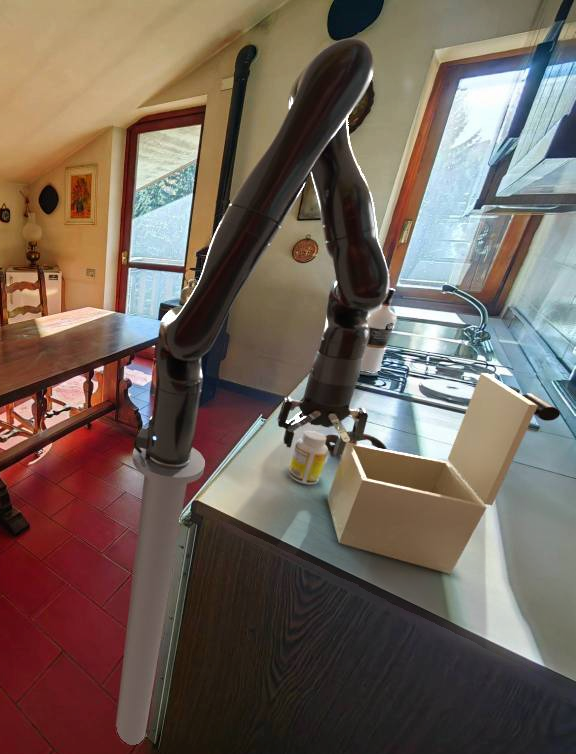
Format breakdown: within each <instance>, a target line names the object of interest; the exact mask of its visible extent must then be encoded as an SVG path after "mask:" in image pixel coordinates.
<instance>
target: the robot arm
mask: <svg viewBox="0 0 576 754" xmlns="http://www.w3.org/2000/svg"><path fill="white" fill-rule="evenodd" d="M374 61H375V60H374V55H373V52H372V49H371V47H370V46H369V44H368V43H367V42H366V41H365V40H362V39H360V38H356V37H349V38H348V37H347V38H344V39H340V40H337V41H335V42H333V43H331V44H329V45H328V46H327V47H324V48H323V49H322V50H320V51H319V52H318V53H317V54H316V55H315V56H314V57H313V58H312V59H311V60H310V61H309V62H307V63H308V64H307V65H305V67H304V68H303V70H302V71H301V72H300V74H299V75H298V76H297V77H296V79H295V81H294V82H293V84H292V86H291V88H290V91H289V94H288V97H287V110H288V111H287V114H286V116H285V118H284V120H283V122H282V124H281V126H280V128H279V130H278V132H277V133H276V135H275V137H274V139H273V141H272V142H271V144H270V145H269V147H268V148H267V149H266V151H265V152H264V154H263V155H262V156H261V158H260V159H259V161H258V162H257V163H256V165H255V166H254V167H253V168H252V170H251V172H250V173H249V174H248V175H247V176H246V178H245V180H244V181H243V183H242V184H241V186H240V187H239V189H238V190H237V192H236V194H235V195H234V196H233V198H232V200H231V201H230V203H229V206H228V207H227V209H226V211H225V213H224V214H223V216H222V218H221V220H220V222H219V223H218V226H217V228H216V230H215V232H214V234H213V236H212V238H211V242H210V244H209V248H208V251H207V254H206V258H205V262H204V264H203V269H202V272H201V275H200V278H199V280H198V282H197V285H196V286H195V287H194V290H193V291H192V293H191V295H190V296H189V298H188V299H187V301H186V302H185V304H184V305H179V306H176V307H174V308H172V309H170V310H169V311H168V312H167V313H165V315H164V316H163V317H162V319H161V321H160V325H159V329H158V336H157V344H156V345H157V347H156V358H155V384H154V394H153V403H152V410H151V417H150V418H149V421H148V426H147V428H144V427H141V429H140V431H139V432H138V434H137V436H136V437H135V438H134V439H133V442H132V444H133V448H135V449H136V450H137V451H138V452H139V454H140V453H142V451H141V449H140V448H143V449H146V453H145V459H149V460H151V461H152V462H153V463H155V464H157V465H159V466H161V467H165V468H172V469H177V468H183V467H185V466H187V465H188V464H189V463H190V459H191V450H192V447H193V444H194V437H195V432H196V426H197V419H198V414H199V409H200V408H199V407H200V402H201V394H202V389H203V382H204V374H203V369H202V368H203V367H202V365H203V364H202V359H203V357H204V356H205V355H206V354H208V352H209V351H210V350H211V349H212V347H213V345H214V344H215V342H216V341H217V338H218V336H219V334H220V332H221V330H222V327H223V325H224V323H225V321H226V319H227V317H228V314H229V312H230V311H231V308H232V307H233V305H234V303H235V301H236V299H237V297H238V296H239V294H240V292H241V291H242V289H243V288H244V287H245V285H246V283H247V282H248V280H249V279H250V277H251V276H252V274H253V272H254V270H255V269H256V267H257V266H258V264H259V262H260V260H261V259H262V258H263V256H264V254H265V253H266V252H267V250H268V249H269V247H270V245H271V244H272V242H273V240H274V239H275V237H276V236H277V234H278V232H279V231H280V229H281V228H282V226H283V224H284V222H285V221H286V219H287V217H288V216H289V213H290V211H291V210H292V209H293V206H294V204H295V202H296V201H297V199H298V198H299V196H300V193H301V191H302V190H303V188H304V187H305V184H306V183H307V180H308V178H309V177H310V176H311V179H312V183H313V187H314V192H315V195H316V201H317V206H318V210H319V217H320V221H321V228H322V233H323V239H324V245H325V248H326V251H327V254H328V256H329V257H330V258H331V260H332V264H333V268H334V275H335V277H334V278H333V280H332V282H331V285H330V288H329V292H328V297H327V302H326V303H327V304H326V310H325V322H324V327H323V329H322V333H321V335H320V338H319V343H318V348H317V351H316V353H315V356H314V358H313V360H312V363H311V368H310V371H309V375H308V378H307V382H306V386H305V390H304V393H303V396H302V398H301V399H300V400H299V399H293V398H292V399H291V396H284V398H283V401H282V403H281V407H280V410H279V413H278V417H277V426H278V427H279V428H283V429H285V431H284V435H283V443H284V445H286V448H288V449H291V448H292V444H293V440H294V437H295V433H296V432H295V431H296V430H297V429H299V428H300V427H303V426H306V425H307V424H310V426H311V425H312V426H321V427H324V428H330V427H334V429H335V430H336V432H337V433H338V439H337V442H336V445H335V444H334V445H335V448H334V455H335V457H334V458H341V456H342V454H343V451H344V448H345V445H346V442H349V441H351V440H356V441H357V442H361V441H363V440H362V438H363V434H365V429H366V426H367V422H368V418H369V414H368V413H367V411H366V409H365V408H364V407H358V408H350V405H351V403H352V398H353V396H354V393H355V390H356V387H357V383H358V381H359V379H360V370H361V364H362V359H363V355H364V352H365V349H366V346H367V343H368V339H369V334H370V330H369V327H368V316H369V312H371V311H373V310H375V309H377V308H379V307H380V306H381V304H382V303H383V302H384V300H385V299H386V297H387V296H388V293H389V290H390V289H391V277H390V273H389V269H388V266H387V262H386V259H385V256H384V254H383V250H382V247H381V245H380V243H379V239H378V227H377V220H376V213H375V207H374V206H375V205H374V202H373V197H372V193H371V190H370V187H369V185H368V182H367V180H366V178H365V176H364V174H363V173H362V171H361V168H360V166H359V165H358V163H357V160H356V158H355V156H354V152H353V149H352V146H351V141H350V136H349V126H348V125H349V124H348V123H349V122H348V118H349V115H350V114H351V113H352V112H353V110H354V108H355V107H356V106H357V105H358V103H359V102H360V101H361V99H362V98H363V97H364V95H365V93H366V91H367V89H368V88H369V86H370V83H371V80H372V77H373V73H374V66H375V65H374V63H375V62H374ZM297 407H298V408H299V410H300V412H299V413H297V414H295V416H294V417H293V418H291V419H289V420H288V417H289V415H290V411H294V410H295V409H296V408H297ZM349 416H351V418H352V420H353V421H354V422H353V426H352V430H351V431H347V430H346V428H345V427H344V425H343V423H342V421H343V420H345V419H346V418H348V417H349Z"/></svg>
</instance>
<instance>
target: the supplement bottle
mask: <svg viewBox="0 0 576 754" xmlns="http://www.w3.org/2000/svg"><path fill="white" fill-rule="evenodd" d="M325 436H326V435H325V434H323V433H322V432H321V433H320V432H318V431H314V430H305V431H303V434H302V436H301V438H298V440H296V442H295V446H294V450H293V453H292V457H291V461H290V464H289V468H288V475H289V477H290V478H291V479H292V480H294V481H296V482H298V483H300V484H303V485H316V484H317V483H318V482H319V480H320V477H321V475H322V471H323V468H324V464H325V461H326V459H327V455H328V452H329V451H328V448H327V446H326V445H325V442H326V437H325Z"/></svg>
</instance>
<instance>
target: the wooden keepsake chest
mask: <svg viewBox="0 0 576 754" xmlns="http://www.w3.org/2000/svg"><path fill="white" fill-rule="evenodd" d="M327 503H328V507H329V510H330V515H331V518H332V519H331V520H332V522H333V526H334V530H335V533H336V537H337V540H338V543H339V544H340V545H341V544H342V545H344V546H348V547H350V548H351V547H352V548H355V549H359V550H363V551H366V552H369V553H373V554H377V555H380V556H384V557H387V558H391V559H395V560H399V561H402V562H406V563H409V564H413V565H416V566H420V567H423V568H427V569H431V570H434V571H438V572H441V573H445V574H449V575H451V574H452V572H453V571H454V569H455V567H456V566H457V563H458V562H459V559H460V558H461V557H462V554H463V553H464V550H465V548H466V547H467V545H468V543H469V541H470V539H471V537H472V536H473V534H474V532H475V530H476V528H477V526H478V525H479V522H480V521H481V519H482V517H483V516H484V513H485V512H486V510H487V506H486V504H484V503H483V501H482V500H481V499H480V498H479V496H478V495H477V494H476V493H475V492H474V490H473V489H472V488H471V487H470V486H469V484H468V483H467V482H466V481H465V479H464V478H463V477H462V476H461V475H460V473H459V472H458V471H457V470H456V469H455V467H454V466H453V465H452V464H451V462H450V461H447V460H441V459H437V458H431V457H426V456H420V455H416V454H411V453H406V452H400V451H395V450H391V449H390V450H389V449H387V450H385V449H380V448H377V447H375V446H369V445H364V444H359V443H357V444H354V443H349V442H346V445H345V448H344V451H343V454H342V455H341V456H340V460H339V463H338V466H337V469H336V472H335V475H334V477H333V480H332V483H331V487H330V489H329V491H328V495H327Z"/></svg>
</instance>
